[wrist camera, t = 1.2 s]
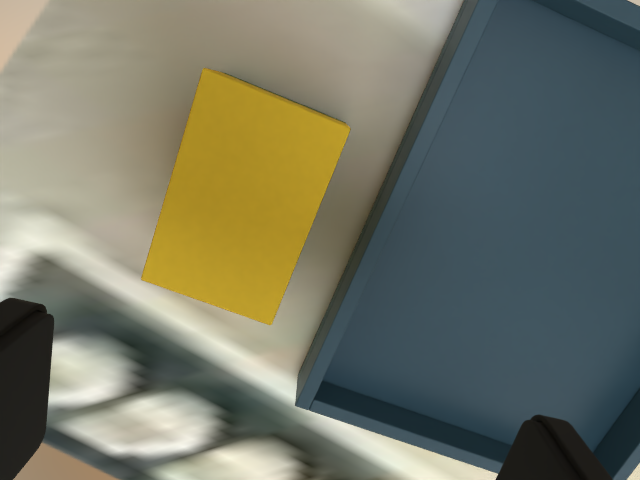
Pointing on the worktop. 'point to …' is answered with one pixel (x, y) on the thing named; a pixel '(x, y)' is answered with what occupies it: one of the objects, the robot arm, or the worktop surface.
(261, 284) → the sponge
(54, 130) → the worktop surface
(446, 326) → the tray
